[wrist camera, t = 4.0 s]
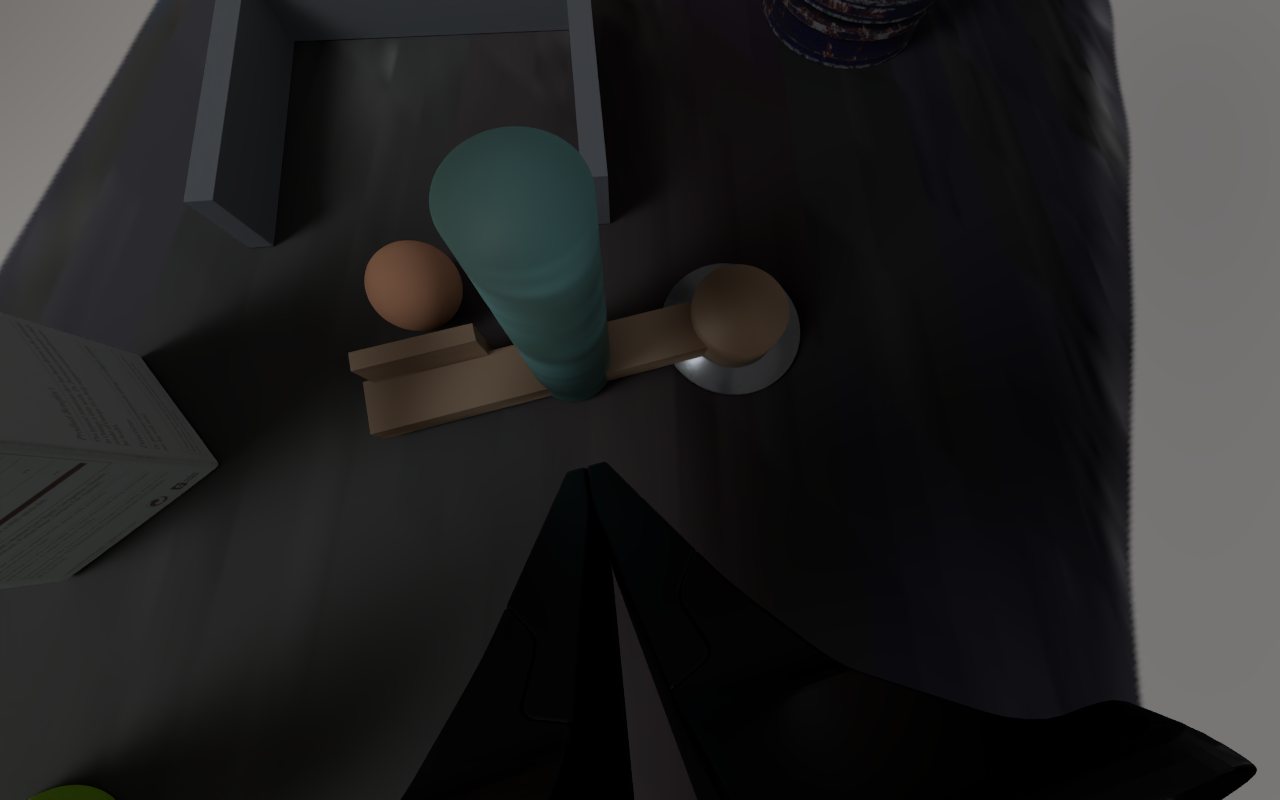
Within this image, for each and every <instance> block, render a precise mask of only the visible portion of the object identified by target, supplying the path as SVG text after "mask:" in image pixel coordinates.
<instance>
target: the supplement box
mask: <svg viewBox="0 0 1280 800" xmlns="http://www.w3.org/2000/svg"><path fill="white" fill-rule="evenodd" d="M217 466H218V462H217V460H216V459H215V458H214V456H213V455H212V454H211V452H210V451H209V450H208V448H207V447H206V445H205V444H204V443H203V441H202V440H201V439H200V437H199V436H198V435H197V433H196V432H195V430H194V429H193V428H192V426H191V425H190V424H189V422H188V421H187V420H186V418H185V417H184V416H183V414H182V413H181V411H180V410H179V409H178V407H177V406H176V405H175V403H174V402H173V401H172V399H171V398H170V396H169V395H168V394H167V392H166V391H165V390H164V388H163V387H162V386H161V384H160V383H159V382H158V380H157V379H156V377H155V376H154V375H153V373H152V372H151V371H150V369H149V368H148V367H147V365H146V364H145V362H144V361H143V360H142V358H141V357H140V356H139V355H137V354H133V353H129V352H126V351H123V350H119V349H116V348H113V347H110V346H107V345H103V344H100V343H98V342H95V341H91V340H88V339H85V338H82V337H79V336H75V335H72V334H68V333H65V332H62V331H59V330H56V329H52V328H49V327H46V326H43V325H39V324H36V323H33V322H30V321H27V320H24V319H20V318H17V317H14V316H11V315H8V314H4V313H1V312H0V589H3V588H11V587H18V586H26V585H33V584H41V583H48V582H55V581H62V580H65V579H67V578H69V577H70V576H71V575H73V574H74V573H76V572H78V571H79V570H81V569H82V568H83V567H85V566H86V565H87V564H89V563H90V562H92V561H93V560H94V559H96V558H97V557H98V556H100V555H101V554H102V553H104V552H105V551H106V550H107V549H109V548H110V547H112V546H113V545H115V544H116V543H117V542H119V541H120V540H121V539H122V538H124V537H125V536H127V535H128V534H129V533H131V532H132V531H133V530H134V529H136V528H137V527H139V526H140V525H141V524H143V523H144V522H145V521H147V520H148V519H149V518H151V517H152V516H153V515H155V514H156V513H157V512H159V511H160V510H161V509H163V508H164V507H165V506H167V505H168V504H169V503H171V502H172V501H173V500H175V499H176V498H177V497H179V496H180V495H181V494H183V493H184V492H185V491H187V490H188V489H189V488H191V487H192V486H193V485H194V484H196V483H197V482H198V481H200V480H201V479H202V478H204V477H205V476H206V475H208V474H209V473H210V472H211V471H213V470H214V469H215V468H216V467H217Z"/></svg>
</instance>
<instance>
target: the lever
mask: <svg viewBox="0 0 1280 800" xmlns="http://www.w3.org/2000/svg"><path fill="white" fill-rule="evenodd" d="M429 206H430V213H431V216H432V220H433V223H434V225H435V227H436V229H437V231H438V232H439V234H440V235H441V237H442V238H443V240H444V241H445V243H446V244H447V246H448V247H449V249H450V250H451V252H452V253H453V255H454V256H455V258H456V259H457V261H458V262H459V264H460V265H461V267H462V268H463V270H464V271H465V273H466V274H467V276H468V277H469V279H470V280H471V282H472V283H473V285H474V286H475V288H476V289H477V291H478V292H479V294H480V295H481V297H482V298H483V300H484V301H485V303H486V304H487V306H488V307H489V308H490V310H491V311H492V313H493V314H494V316H495V317H496V319H497V320H498V322H499V323H500V325H501V326H502V328H503V329H504V331H505V332H506V334H507V335H508V337H509V338H510V340H511V341H512V343H513V344H514V345H511V346H507V347H503V348H499V349H495V350H494V349H493V348H492V347H491V346H490V344H489V343H488V342H487V341H486V339H485V338H484V337H483V336H482V335H481V333H480V332H479V331H478V330H477V328H476V327H475V326H474V325H473V323H470V324H466V325H462V326H458V327H454V328H449V329H445V330H441V331H437V332H433V333H429V334H424V335H420V336H416V337H412V338H408V339H404V340H399V341H395V342H391V343H387V344H383V345H379V346H374V347H370V348H366V349H362V350H358V351H353V352H349V353H348V355H349V362H350V370H351V372H353V373H355V374H357V375H359V376H361V377H363V378H365V379H367V380H369V381H365V382H363V387H364V394H365V401H366V407H367V414H368V421H369V428H370V435H374V436H377V437H381V438H384V439H386V438H390V437H394V436H398V435H402V434H406V433H409V432H413V431H417V430H421V429H425V428H429V427H433V426H436V425H440V424H444V423H448V422H452V421H456V420H459V419H463V418H467V417H471V416H475V415H479V414H483V413H486V412H490V411H494V410H498V409H502V408H506V407H509V406H513V405H517V404H521V403H525V402H529V401H533V400H536V399H540V398H544V397H548V396H552V397H554V398H556V399H559V400H562V401H566V402H579V401H584V400H587V399H589V398H591V397H593V396H594V395H596V394H597V393H598V392H600V391H601V389H602V388H603V387H604V386H605V384H606V383H607V381H610V380H613V379H617V378H621V377H625V376H629V375H633V374H636V373H640V372H644V371H648V370H652V369H656V368H660V367H663V366H667V365H671V364H675V363H679V362H683V361H686V360H690V359H694V358H698V357H702V356H703V357H704V358H705V359H707V360H708V361H710V362H712V363H714V364H716V365H719V366H723V367H729V368H738V367H744V366H748V365H751V364H753V363H755V362H756V361H758V360H759V359H761V358H762V357H763V356H764V355H765V354H766V353H767V352H768V351H769V350H770V349H771V347H772V346H773V345H774V344H775V343H776V342H777V341H778V340H779V338H780V337H781V336H782V335H783V333H784V331H785V329H786V327H787V324H788V320H789V304H788V300H787V297H786V295H785V292H784V290H783V289H782V287H781V286H780V284H779V283H778V282H777V281H776V280H775V279H774V278H773V277H772V276H770V275H769V274H768V273H766V272H765V271H763V270H761V269H759V268H756V267H753V266H750V265H744V264H732V265H726V266H723V267H720V268H717V269H715V270H714V271H712V272H710V273H709V274H708V275H707V276H705V277H704V279H703V280H702V281H701V282H700V284H699V285H698V287H697V289H696V291H695V294H694V297H693V301H690V302H686V303H681V304H677V305H673V306H669V307H665V308H661V309H657V310H653V311H649V312H645V313H641V314H637V315H633V316H629V317H625V318H621V319H617V320H613V321H609V322H607V314H606V303H605V292H604V281H603V270H602V259H601V249H600V238H599V227H598V216H597V205H596V194H595V185H594V180H593V176H592V174H591V171H590V168H589V167H588V165H587V163H586V161H585V160H584V158H583V157H582V156H581V155H580V153H579V152H578V151H577V150H576V149H575V148H574V147H573V146H571V145H570V144H569V143H567V142H566V141H565V140H563V139H561V138H560V137H558V136H556V135H554V134H551V133H549V132H547V131H543V130H540V129H536V128H530V127H521V126H510V127H501V128H495V129H491V130H487V131H484V132H482V133H479V134H476V135H474V136H472V137H470V138H468V139H467V140H465V141H464V142H462V143H461V144H459V145H458V146H457V147H455V148H454V149H453V150H452V151H451V152H450V153H449V154H448V155H447V156H446V157H445V158H444V160H443V161H442V163H441V164H440V165H439V167H438V169H437V171H436V173H435V175H434V177H433V180H432V183H431V188H430V193H429Z"/></svg>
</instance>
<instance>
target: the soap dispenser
mask: <svg viewBox="0 0 1280 800" xmlns="http://www.w3.org/2000/svg"><path fill="white" fill-rule="evenodd" d="M27 800H116V799H115V798H113V797H112V796H111V795H109V794H108V793H106V792H104V791H102V790H100V789H98V788H95V787H91V786H86V785H67V786H61V787H56V788H53V789H50V790H47V791H44V792H42V793H39V794H37V795H35V796H33V797H31V798H29V799H27Z"/></svg>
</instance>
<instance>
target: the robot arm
mask: <svg viewBox="0 0 1280 800" xmlns="http://www.w3.org/2000/svg"><path fill="white" fill-rule="evenodd" d="M610 562H611V563H610ZM611 565H612V568H613V571H614V574H615V577H616V580H617V583H618V586H619V589H620V591H621V594H622V597H623V599H624V602H625V605H626V608H627V610H628V613H629V616H630V618H631V621H632V624H633V626H634V629H635V632H636V635H637V637H638V640H639V643H640V645H641V648H642V651H643V654H644V656H645V659H646V662H647V664H648V667H649V670H650V673H651V675H652V678H653V681H654V683H655V686H656V689H657V692H658V694H659V697H660V700H661V702H662V705H663V708H664V711H665V713H666V716H667V719H668V721H669V724H670V727H671V730H672V732H673V735H674V738H675V740H676V743H677V746H678V749H679V751H680V754H681V757H682V759H683V762H684V765H685V768H686V770H687V773H688V776H689V778H690V781H691V784H692V787H693V789H694V792H695V795H696V797H697V800H1222V799H1223V798H1225V797H1226V796H1228V795H1229V794H1231V793H1232V792H1234V791H1235V790H1237V789H1238V788H1239V787H1241V786H1242V785H1243V784H1245V783H1246V782H1248V781H1249V780H1250V779H1251V778H1252V777H1253V776H1254V775H1255V773H1256V771H1257V768H1256V767H1255V765H1254V764H1252V763H1251V762H1250V761H1249V760H1247V759H1246V758H1244V757H1243V756H1241V755H1240V754H1238V753H1237V752H1235V751H1233V750H1232V749H1230V748H1229V747H1227V746H1225V745H1224V744H1222V743H1220V742H1218V741H1216V740H1214V739H1213V738H1211V737H1209V736H1207V735H1206V734H1204V733H1202V732H1200V731H1198V730H1195V729H1193V728H1191V727H1189V726H1187V725H1185V724H1183V723H1181V722H1178V721H1176V720H1173V719H1170V718H1168V717H1165V716H1163V715H1161V714H1158V713H1156V712H1153V711H1150V710H1148V709H1145V708H1143V707H1140V706H1137V705H1135V704H1132V703H1130V702H1126V701H1117V700H1110V701H1104V702H1099V703H1096V704H1093V705H1090V706H1087V707H1084V708H1081V709H1078V710H1076V711H1073V712H1070V713H1068V714H1065V715H1062V716H1058V717H1053V718H1048V719H1019V718H1011V717H1004V716H1000V715H996V714H992V713H988V712H984V711H981V710H978V709H975V708H971V707H968V706H965V705H962V704H959V703H956V702H953V701H950V700H946V699H943V698H940V697H937V696H934V695H931V694H928V693H925V692H921V691H918V690H915V689H912V688H909V687H906V686H903V685H900V684H897V683H893V682H890V681H887V680H884V679H881V678H878V677H875V676H872V675H868V674H865V673H862V672H860V671H857V670H854V669H852V668H850V667H848V666H845V665H843V664H842V663H840V662H838V661H836V660H834V659H832V658H831V657H829V656H828V655H826V654H824V653H823V652H822V651H820V650H819V649H817V648H816V647H815V646H813V645H812V644H810V643H809V642H808V641H806V640H805V639H804V638H802V637H801V636H800V635H798V634H797V633H796V632H794V631H793V630H792V629H790V628H789V627H788V626H786V625H785V624H784V623H783V622H781V621H780V620H779V619H777V618H776V617H775V616H773V615H772V614H771V613H769V612H768V611H767V610H765V609H764V608H763V607H761V606H760V605H759V604H757V603H756V602H755V601H753V600H752V599H751V598H749V597H748V596H747V595H746V594H744V593H743V592H742V591H741V590H739V589H738V588H737V587H736V586H734V585H733V584H732V583H731V582H729V581H728V580H727V579H726V578H725V577H724V576H723V575H722V574H721V573H720V572H718V571H717V570H716V569H715V568H714V567H713V566H712V565H711V564H710V563H709V562H708V561H707V560H706V559H705V558H704V557H703V556H702V555H701V554H700V553H699V552H696V551H695V549H694V548H693V547H692V546H691V545H690V544H689V543H688V542H687V541H686V540H685V539H684V538H683V537H682V536H681V535H680V534H679V533H678V532H677V531H676V530H675V529H674V528H673V527H672V526H671V525H670V524H669V523H668V522H667V521H666V520H665V519H664V518H663V517H662V516H661V515H660V514H659V513H658V512H657V511H655V510H654V509H653V508H652V507H651V506H650V505H649V504H648V503H647V502H646V501H645V500H644V499H643V498H642V497H641V496H640V495H639V494H638V493H637V492H636V491H635V490H634V489H633V488H632V487H631V486H630V485H629V484H628V483H627V482H626V481H625V480H624V479H623V478H622V477H621V476H620V475H619V474H618V473H617V472H616V471H615V470H614V469H613V468H612V467H611V466H610V465H609V464H608V463H606V462H601V463H597V464H594V465H590V466H588V468H587V469H586V468H579V469H576V470H572V471H569V472H567V473H566V475H565V477H564V479H563V481H562V484H561V486H560V488H559V490H558V493H557V495H556V497H555V499H554V502H553V504H552V506H551V508H550V510H549V513H548V515H547V517H546V519H545V522H544V524H543V526H542V528H541V531H540V533H539V535H538V537H537V539H536V542H535V544H534V546H533V548H532V551H531V553H530V555H529V557H528V560H527V562H526V564H525V566H524V569H523V571H522V573H521V575H520V577H519V580H518V582H517V584H516V586H515V589H514V591H513V593H512V595H511V598H510V600H509V602H508V604H507V609H506V610H504V613H503V615H502V617H501V619H500V622H499V624H498V626H497V628H496V630H495V633H494V635H493V637H492V639H491V641H490V643H489V645H488V647H487V649H486V651H485V653H484V655H483V657H482V659H481V661H480V663H479V665H478V667H477V668H476V670H475V672H474V674H473V676H472V678H471V679H470V681H469V683H468V685H467V687H466V689H465V690H464V692H463V694H462V696H461V697H460V699H459V701H458V703H457V704H456V706H455V708H454V710H453V711H452V713H451V715H450V717H449V718H448V720H447V722H446V724H445V725H444V727H443V729H442V731H441V732H440V734H439V736H438V738H437V739H436V741H435V743H434V745H433V746H432V748H431V750H430V752H429V753H428V755H427V757H426V759H425V760H424V762H423V764H422V766H421V767H420V769H419V771H418V772H417V774H416V776H415V778H414V779H413V781H412V783H411V784H410V786H409V787H408V789H407V791H406V792H405V794H404V795H403V797H402V798H401V800H634V792H633V782H632V771H631V761H630V750H629V740H628V730H627V719H626V709H625V698H624V688H623V678H622V667H621V657H620V646H619V636H618V626H617V615H616V605H615V594H614V584H613V575H612V568H611Z"/></svg>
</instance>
